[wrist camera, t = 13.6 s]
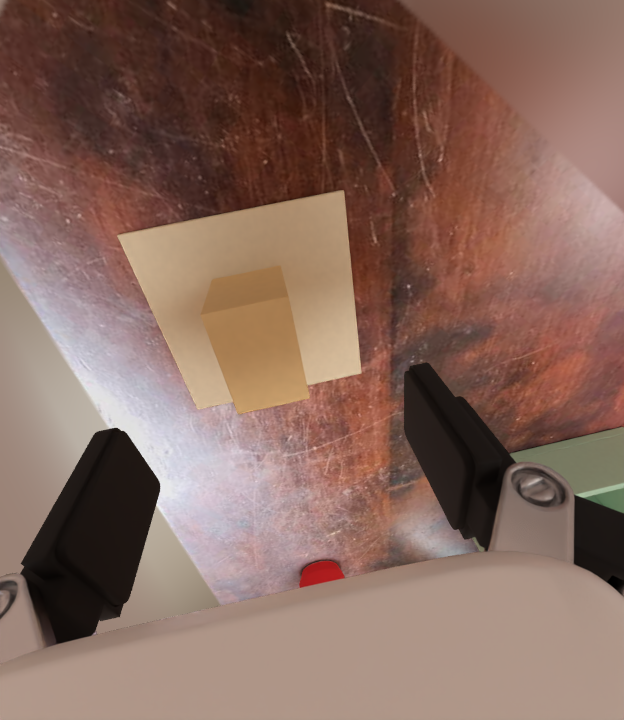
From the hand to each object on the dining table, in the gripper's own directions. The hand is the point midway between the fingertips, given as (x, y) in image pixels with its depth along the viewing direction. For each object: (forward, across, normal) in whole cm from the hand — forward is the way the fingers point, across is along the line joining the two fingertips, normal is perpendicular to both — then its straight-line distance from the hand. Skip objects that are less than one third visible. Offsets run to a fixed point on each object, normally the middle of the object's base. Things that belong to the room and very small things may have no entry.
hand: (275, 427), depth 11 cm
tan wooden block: (+11, +1, +1) cm, 11 cm away
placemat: (+11, +1, +1) cm, 11 cm away
